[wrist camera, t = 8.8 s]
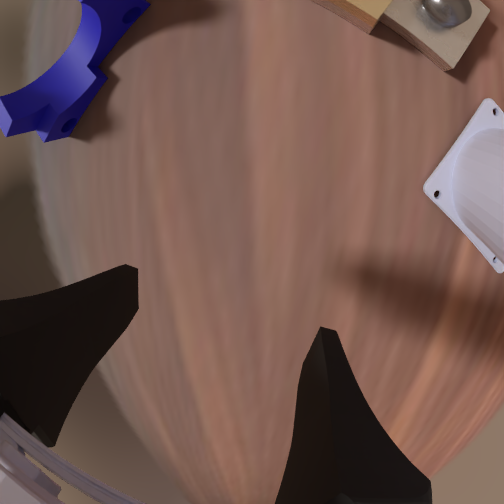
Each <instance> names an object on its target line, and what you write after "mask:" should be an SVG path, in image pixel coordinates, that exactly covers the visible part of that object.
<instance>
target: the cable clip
mask: <svg viewBox="0 0 504 504" xmlns="http://www.w3.org/2000/svg"><path fill="white" fill-rule="evenodd" d="M79 1H80V2H81V4H82V18H81V23H80V26H79V29H78V31H77V33H76V35H75V37H74V39H73V41H72V42H71V44H70V46H69V47H68V49H67V50H66V51H65V52H64V54H63V55H62V56H61V57H60V59H59V60H58V61H57V62H56V63H55V64H54V65H53V66H52V67H51V68H50V69H49V70H48V71H46V72H45V73H44V74H43V75H42V76H40V77H39V78H38V79H36V80H35V81H33V82H32V83H31V84H29V85H27V86H26V87H24V88H22V89H20V90H18V91H16V92H14V93H11V94H8V95H5V96H0V128H1V130H2V131H3V133H4V135H5V137H9V136H13V135H17V134H21V133H26V132H30V131H34V130H36V131H37V133H38V135H39V136H40V138H41V139H42V141H43V142H44V143H45V142H49V141H53V140H57V139H61V138H66V137H69V136H70V134H71V132H72V130H73V129H74V127H75V126H76V124H77V122H78V121H79V119H80V118H81V116H82V114H83V113H84V111H85V110H86V108H87V107H88V105H89V104H90V102H91V101H92V99H93V98H94V97H95V95H96V94H97V92H98V91H99V89H100V88H101V87H102V85H103V84H104V83H105V81H106V80H107V79H108V78H107V77H106V75H105V74H104V73H103V72H102V71H101V70H100V69H99V67H98V66H99V65H100V64H101V62H102V61H103V60H104V58H105V57H106V56H107V54H108V53H109V52H110V50H111V49H112V48H113V47H114V45H115V44H116V43H117V42H118V41H119V39H120V38H121V37H122V36H123V35H124V33H125V32H126V31H127V30H128V29H129V28H130V26H131V25H132V24H133V23H134V22H135V21H136V20H137V19H138V18H139V16H140V15H141V14H142V13H143V12H144V11H145V10H146V9H147V8H148V7H149V6H150V5H151V4H150V3H149V2H147V1H146V0H79Z"/></svg>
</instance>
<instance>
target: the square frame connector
mask: <svg viewBox="0 0 504 504" xmlns="http://www.w3.org/2000/svg"><path fill="white" fill-rule="evenodd" d="M311 1H313V2H315V3H317V4H319V5H321V6H323V7H324V8H326V9H328V10H330V11H332V12H333V13H335V14H337V15H339V16H340V17H342V18H344V19H345V20H347V21H349V22H350V23H352V24H354V25H355V26H357V27H358V28H360V29H361V30H363V31H365V32H366V33H368V34H370V32H371V31H372V30H373V28H374V27H375V26H376V24H377V23H378V22H379V21H380V22H382V23H383V24H385V25H386V26H388V27H389V28H390V29H392V30H393V31H395V32H396V33H397V34H399V35H400V36H401V37H403V38H404V39H405V40H407V41H408V42H409V43H411V44H412V45H413V46H414V47H416V48H417V49H418V50H419V51H421V52H422V53H423V54H424V55H425V56H427V57H428V58H429V59H430V60H431V61H433V62H434V63H435V64H436V65H437V66H438V67H439V68H440V69H442V70H443V71H447V70H450V69H453V68H454V67H455V65H456V64H457V62H458V61H459V59H460V58H461V56H462V55H463V53H464V52H465V50H466V49H467V47H468V45H469V44H470V42H471V41H472V39H473V38H474V36H475V34H476V33H477V31H478V30H479V28H480V26H481V25H482V23H483V22H484V20H485V18H486V17H487V15H488V13H489V12H490V9H489V8H487V7H486V6H485V5H484V4H483V3H482V2H481V1H480V0H311Z"/></svg>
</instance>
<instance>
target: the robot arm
mask: <svg viewBox="0 0 504 504" xmlns="http://www.w3.org/2000/svg"><path fill="white" fill-rule="evenodd" d="M493 109H495V111H496V115H494V114H493ZM423 190H424V193H425V194H426V195H427V196H428V197H429V198H430V199H431V200H432V201H433V202H434V203H435V204H436V205H437V206H438V207H439V208H440V209H441V210H442V211H443V212H444V213H445V214H446V215H447V216H448V217H449V218H450V219H451V220H452V221H453V222H454V223H455V224H456V225H457V226H458V227H459V228H460V230H461V231H462V232H463V233H464V234H465V235H466V236H467V237H468V238H469V240H470V241H471V242H472V243H473V244H474V245H475V246H476V247H477V249H478V250H479V251H480V252H481V253H482V255H483V256H484V257H485V258H486V259H487V261H488V262H489V263H490V264H491V265H492V267H493V268H494V269H495V270H496V272H497V273H502V272H504V112H503V111H502V110H501V109H500V108H499V106H498V105H497V104H496V103H495V102H494V101H493V100H492V99H490V98H487V99H484V100H483V102H482V103H481V105H480V106H479V108H478V109H477V111H476V112H475V114H474V115H473V117H472V118H471V120H470V121H469V123H468V124H467V126H466V127H465V129H464V130H463V132H462V133H461V134H460V136H459V137H458V139H457V140H456V142H455V143H454V144H453V146H452V147H451V149H450V150H449V151H448V153H447V154H446V155H445V157H444V158H443V160H442V161H441V162H440V164H439V165H438V166H437V168H436V169H435V170H434V172H433V173H432V174H431V176H430V177H429V178H428V179H427V181H426V182H425V184H424V186H423ZM437 190H438V191H439V195H438V196H437V197H434V192H435V191H437ZM495 256H496V258H495V260H493V258H494V257H495ZM138 309H139V306H138V269H137V268H135V267H132V266H129V265H126V264H124V265H121V266H118V267H115V268H113V269H110V270H107V271H105V272H102V273H100V274H97V275H95V276H92V277H90V278H87V279H84V280H82V281H79V282H76V283H73V284H71V285H68V286H65V287H62V288H59V289H56V290H53V291H49V292H46V293H42V294H38V295H33V296H28V297H23V298H17V299H10V300H1V301H0V504H65V503H63V502H62V501H60V500H59V499H58V498H57V496H58V494H59V493H60V491H61V487H60V486H59V485H58V484H56V483H55V482H54V481H52V480H51V479H50V478H49V477H48V476H47V475H45V474H44V473H43V472H42V471H41V470H40V469H39V468H38V467H37V466H36V465H35V464H33V463H32V462H31V461H30V460H29V459H27V458H26V457H25V453H24V451H25V452H26V453H27V454H28V455H30V456H31V457H32V458H33V459H35V460H36V461H37V462H38V463H40V464H41V465H43V466H44V467H45V468H47V469H48V470H49V471H51V472H52V473H54V474H55V475H57V476H58V477H59V478H61V479H62V480H64V481H65V482H67V483H68V484H70V485H71V486H73V487H74V488H76V489H78V490H79V491H81V492H83V493H84V494H86V495H88V496H89V497H91V498H93V499H94V500H96V501H98V502H100V503H102V504H146V503H143V502H141V501H139V500H137V499H135V498H132V497H130V496H128V495H126V494H124V493H122V492H120V491H118V490H116V489H114V488H112V487H110V486H109V485H107V484H105V483H103V482H101V481H99V480H98V479H96V478H94V477H92V476H91V475H89V474H87V473H86V472H84V471H82V470H81V469H79V468H77V467H76V466H74V465H73V464H71V463H69V462H68V461H67V460H65V459H63V458H62V457H60V456H59V455H58V454H56V453H55V452H53V451H52V450H51V449H49V448H48V447H53V446H55V444H56V441H57V438H58V436H59V433H60V431H61V428H62V426H63V424H64V421H65V419H66V417H67V415H68V413H69V411H70V409H71V407H72V404H73V403H74V401H75V399H76V397H77V395H78V393H79V392H80V390H81V388H82V386H83V385H84V383H85V381H86V380H87V378H88V376H89V375H90V373H91V372H92V370H93V369H94V368H95V366H96V365H97V363H98V362H99V361H100V360H101V359H102V357H103V356H104V355H105V354H106V352H107V351H108V350H109V349H110V348H111V346H112V345H113V344H114V343H115V342H116V340H117V339H118V338H119V337H120V336H121V334H122V333H123V332H124V331H125V329H126V328H127V327H128V325H129V324H130V322H131V320H132V319H133V317H134V316H135V314H136V312H137V311H138ZM275 504H432V489H431V481H430V480H429V479H428V478H427V477H426V476H425V475H424V474H423V473H422V472H421V471H419V470H418V469H417V468H416V467H415V466H414V465H413V464H412V463H411V462H410V461H409V460H408V459H407V457H406V456H405V455H404V454H403V453H402V452H401V451H400V450H399V448H398V447H397V446H396V445H395V443H394V442H393V441H392V440H391V438H390V437H389V436H388V434H387V433H386V431H385V430H384V429H383V427H382V426H381V424H380V423H379V421H378V420H377V418H376V417H375V415H374V413H373V412H372V410H371V408H370V407H369V405H368V403H367V401H366V400H365V398H364V396H363V394H362V392H361V390H360V388H359V386H358V383H357V381H356V379H355V377H354V374H353V372H352V370H351V367H350V365H349V363H348V360H347V358H346V355H345V352H344V350H343V347H342V344H341V342H340V339H339V336H338V334H337V332H336V331H335V330H331V329H328V328H324V327H320V328H319V331H318V333H317V335H316V337H315V339H314V341H313V343H312V346H311V348H310V350H309V352H308V354H307V356H306V358H305V360H304V362H303V365H302V370H301V374H300V379H299V384H298V391H297V400H296V410H295V420H294V429H293V437H292V443H291V448H290V452H289V456H288V460H287V464H286V468H285V472H284V475H283V479H282V482H281V486H280V489H279V492H278V495H277V498H276V501H275Z"/></svg>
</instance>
